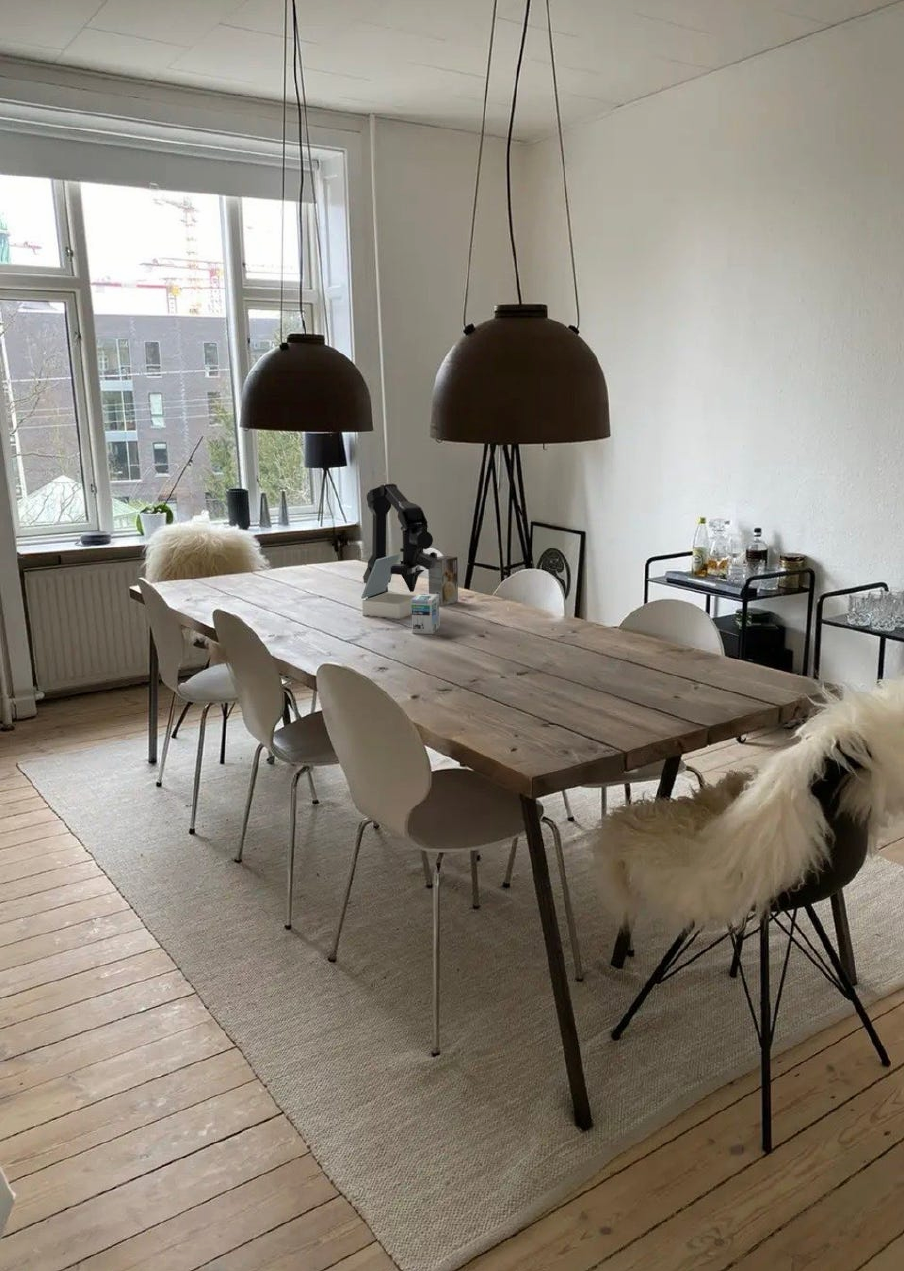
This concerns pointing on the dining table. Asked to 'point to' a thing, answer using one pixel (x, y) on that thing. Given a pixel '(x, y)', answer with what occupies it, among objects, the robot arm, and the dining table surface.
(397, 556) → the lid flap
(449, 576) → the coffee box
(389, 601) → the open box
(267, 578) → the dining table surface
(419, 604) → the light bulb box
